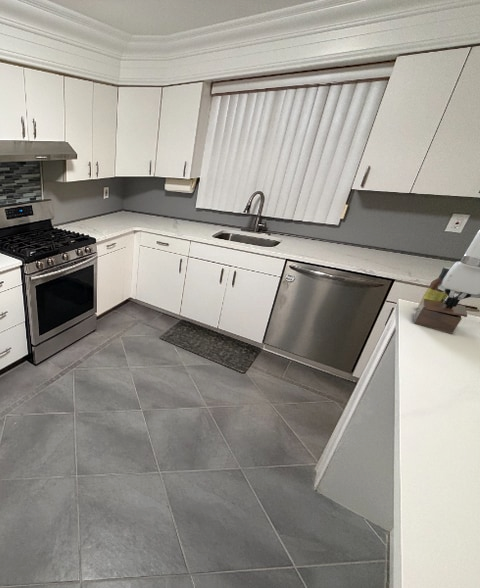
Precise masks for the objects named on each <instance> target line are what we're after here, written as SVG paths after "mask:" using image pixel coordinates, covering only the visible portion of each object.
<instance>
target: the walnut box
mask: <svg viewBox="0 0 480 588" xmlns="http://www.w3.org/2000/svg"><path fill="white" fill-rule="evenodd" d="M419 304H420V303H419ZM418 307H419V308H418ZM418 307H417V308H418V310H416V311H415V313H414V320H413V321H414V322H413V324H415V325H419V326H422V327H425V328H428V329H432V330H435V331H440V332H442V333H446V334H450V335H452V334H453V333H454V332H455V330H456V329H457V327H458V325H460V322H461V321H462V316H458V315H453V314H448V313H443V312H438V311H432V310H427V309H423V301H422V303H421V304H420V306H418Z"/></svg>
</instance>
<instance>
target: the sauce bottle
mask: <svg viewBox="0 0 480 588" xmlns="http://www.w3.org/2000/svg"><path fill="white" fill-rule="evenodd" d="M450 269H451V267H449V266H444V267H442V269H441V272H440V274H439V275H438V277H437V278H436V279H433V280H432V281H431V282H430V284H429V285H428V287H427V289H426V291H425V293H424V294H423V296H422V298H421V300H420V301H419V303H418V306H417V307H416V309H417V310H418V308H419V306H420V304H421V303H422V301H423V299H428V300H434V301H440V302H445V301H446V299H447V298H448V295H447V294H446V292H445V291H442V290H440V289H438V286H439V285H440V284H441V282H442V280H443V279H444V277H445V276H446V274H447V273H448V271H449V270H450ZM417 310H416V311H417Z"/></svg>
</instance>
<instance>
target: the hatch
mask: <svg viewBox="0 0 480 588" xmlns="http://www.w3.org/2000/svg"><path fill="white" fill-rule="evenodd" d="M444 303H445V301H444V302H440V301H434V300H428V299H423V309H427V310H432V311H438V312H443V313H448V314H453V315H458V316H461V317H464V318H467V317H468V312H467V308H466V306H465V305H463V304H457V306H456V307H454V306H453V308H452V309H450V308H446V304H444Z"/></svg>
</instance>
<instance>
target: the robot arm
mask: <svg viewBox="0 0 480 588" xmlns="http://www.w3.org/2000/svg"><path fill="white" fill-rule="evenodd" d="M450 268H451V269H450V270H449V271H448V273H447V274H446V276H445V277H444V279H443V280H442V282H441V284H440V285H439V286H438V289H440V290H442V291H445V292H446V294H447V295H448V296H447V298H446V299H445V301H444V302H445V303H444V304H446V308H450V309H452V308H453V306H454V307H456V306H457V305H459V303H460V302H461V301H462V300H464V299H468V298H471V299H480V229H479V230H478V231H477V233H476V234H475V236H474V238H473V240H472V241H471V243H470V244H469V246H468V248H467V249H466V250H465V253H464V255H463V256H462V258H461V259H460V261H456V262H455V263H453V265H452V266H451V267H450ZM456 292H459V293H458V295H455V293H456Z"/></svg>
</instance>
